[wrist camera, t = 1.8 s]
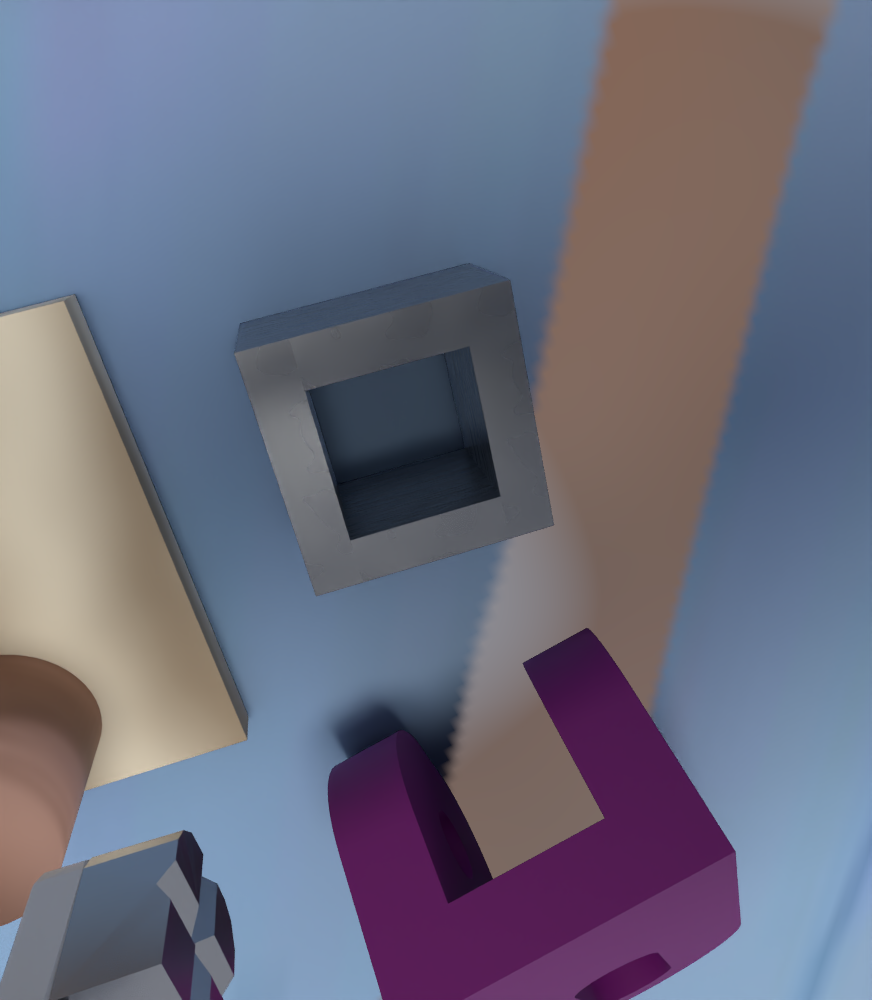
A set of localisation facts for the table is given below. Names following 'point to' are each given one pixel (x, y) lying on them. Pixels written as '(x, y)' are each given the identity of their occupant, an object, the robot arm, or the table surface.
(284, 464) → the collar
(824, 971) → the table surface
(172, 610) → the post board
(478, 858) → the mounting bracket
